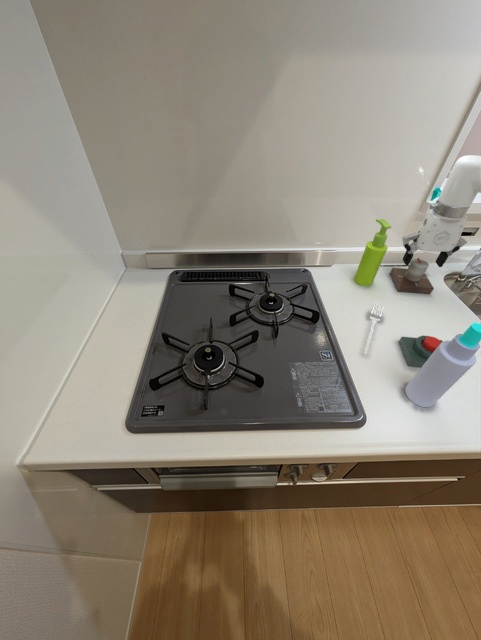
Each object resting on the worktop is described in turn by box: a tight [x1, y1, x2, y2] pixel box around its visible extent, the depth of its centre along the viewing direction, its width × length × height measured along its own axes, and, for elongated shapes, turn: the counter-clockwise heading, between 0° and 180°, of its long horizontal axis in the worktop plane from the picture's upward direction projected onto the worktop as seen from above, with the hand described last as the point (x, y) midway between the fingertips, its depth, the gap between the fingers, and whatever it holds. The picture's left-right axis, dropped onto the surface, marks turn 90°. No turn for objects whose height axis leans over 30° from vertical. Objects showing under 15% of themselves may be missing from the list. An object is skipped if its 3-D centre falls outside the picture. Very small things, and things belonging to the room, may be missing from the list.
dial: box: [404, 257, 429, 282], centre depth 88 cm, size 5×5×6 cm
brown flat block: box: [388, 267, 434, 295], centre depth 91 cm, size 10×10×3 cm
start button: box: [422, 335, 441, 352], centre depth 67 cm, size 4×4×2 cm
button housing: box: [398, 335, 444, 369], centre depth 69 cm, size 10×8×4 cm
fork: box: [363, 302, 385, 355], centre depth 76 cm, size 3×20×2 cm, turn 152°
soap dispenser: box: [353, 218, 392, 287], centre depth 86 cm, size 6×7×20 cm
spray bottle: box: [404, 322, 481, 408], centre depth 54 cm, size 6×6×22 cm
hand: (421, 263), depth 86 cm, fingers open, 9 cm apart
